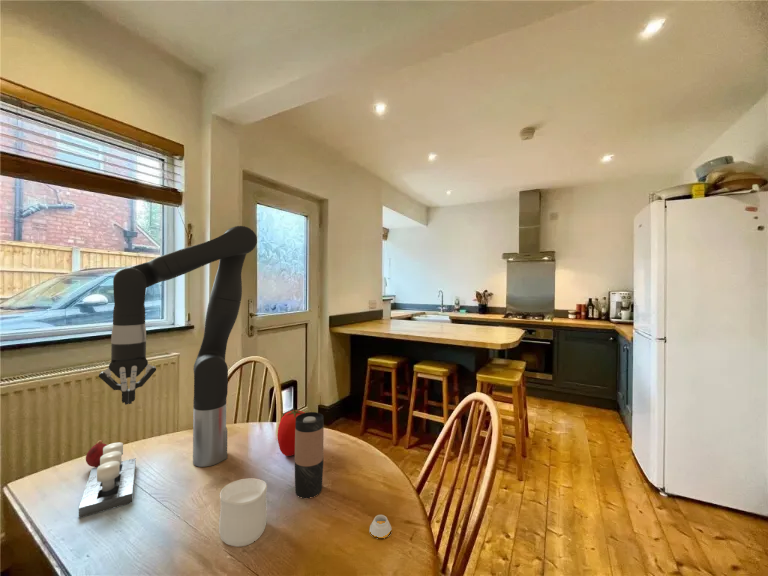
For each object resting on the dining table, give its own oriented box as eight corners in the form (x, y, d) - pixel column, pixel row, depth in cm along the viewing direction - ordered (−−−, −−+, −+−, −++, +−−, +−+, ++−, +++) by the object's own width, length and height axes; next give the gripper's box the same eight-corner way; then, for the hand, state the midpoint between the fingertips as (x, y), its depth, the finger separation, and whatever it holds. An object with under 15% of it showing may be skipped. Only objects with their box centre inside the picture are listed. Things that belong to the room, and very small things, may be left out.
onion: (96, 474, 95) (96, 446, 95) (80, 471, 96) (80, 444, 96) (116, 463, 100) (116, 437, 100) (101, 461, 102) (101, 435, 101)
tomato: (299, 440, 117) (299, 401, 117) (321, 450, 110) (322, 408, 110) (268, 455, 107) (269, 412, 107) (291, 467, 100) (291, 421, 100)
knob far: (123, 460, 96) (123, 441, 96) (122, 467, 93) (122, 447, 92) (103, 465, 94) (104, 445, 94) (101, 472, 90) (102, 451, 90)
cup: (265, 543, 71) (266, 499, 71) (214, 554, 68) (214, 507, 68) (267, 513, 80) (268, 474, 80) (222, 521, 77) (223, 480, 77)
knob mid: (121, 470, 91) (122, 449, 91) (120, 478, 88) (120, 456, 88) (101, 475, 89) (101, 454, 89) (99, 483, 85) (99, 461, 85)
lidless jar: (365, 532, 75) (380, 544, 71) (365, 519, 75) (381, 531, 71) (380, 520, 78) (395, 532, 75) (380, 508, 78) (396, 519, 75)
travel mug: (328, 486, 91) (329, 414, 91) (311, 502, 84) (312, 425, 84) (306, 479, 94) (307, 409, 94) (288, 494, 87) (289, 419, 87)
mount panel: (135, 465, 99) (135, 458, 99) (132, 502, 83) (132, 493, 83) (91, 476, 93) (91, 468, 93) (78, 518, 77) (78, 508, 77)
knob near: (120, 481, 86) (120, 459, 86) (118, 489, 83) (118, 467, 83) (98, 486, 84) (98, 464, 84) (95, 496, 80) (95, 472, 80)
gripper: (158, 336, 97) (157, 395, 97) (99, 340, 89) (98, 403, 89) (158, 340, 91) (157, 403, 91) (95, 345, 83) (94, 413, 83)
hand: (128, 403), depth 90 cm, fingers closed
